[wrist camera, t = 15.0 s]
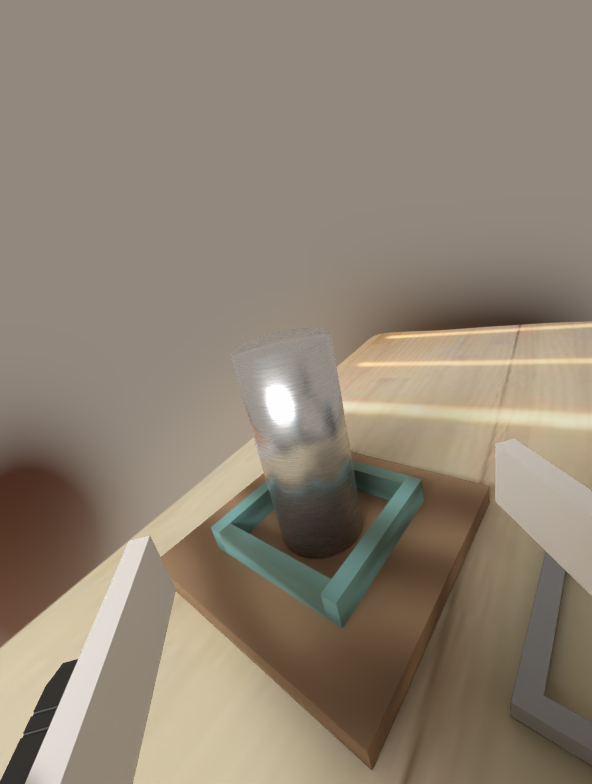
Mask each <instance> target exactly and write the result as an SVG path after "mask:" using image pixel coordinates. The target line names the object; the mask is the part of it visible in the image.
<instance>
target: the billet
mask: <svg viewBox="0 0 592 784" xmlns="http://www.w3.org/2000/svg"><path fill="white" fill-rule="evenodd" d="M231 358H232V361H233V365H234V369H235V372H236V375H237V379H238V382H239V386H240V390H241V393H242V397H243V400H244V403H245V407H246V411H247V414H248V418H249V421H250V425H251V428H252V432H253V436H254V439H255V443H256V446H257V450H258V453H259V457H260V460H261V464H262V467H263V471H264V475H265V478H266V482H267V485H268V489H269V492H270V496H271V499H272V503H273V506H274V510H275V513H276V517H277V520H278V524H279V528H280V531H281V535H282V538H283V541H284V543H285V545H286V546H287V547H288V548H289V549H290V550H291V551H292V552H294V553H295V554H297V555H299V556H302V557H306V558H313V559H320V558H327V557H331V556H335V555H337V554H340V553H342V552H343V551H345V550H347V549H348V548H349V547H351V546H352V545H353V544H354V543H355V542H356V540H357V539H358V537H359V536H360V533H361V531H362V524H363V523H362V516H361V510H360V504H359V498H358V492H357V486H356V480H355V474H354V468H353V462H352V457H351V451H350V445H349V439H348V433H347V427H346V421H345V415H344V409H343V403H342V397H341V391H340V386H339V380H338V374H337V368H336V362H335V356H334V350H333V345H332V338H331V333H330V331H328V330H326V329H320V328H307V329H296V330H290V331H284V332H279V333H275V334H271V335H267V336H264V337H260V338H258V339H254V340H252V341H249V342H247V343H245V344H242V345H241V346H239V347H237V348H236V349H234V350H233V351H232V352H231Z"/></svg>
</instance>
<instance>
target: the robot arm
mask: <svg viewBox="0 0 592 784" xmlns="http://www.w3.org/2000/svg"><path fill="white" fill-rule="evenodd" d="M495 502H496V503H497V504H498V505H499V506H500V507H501V508H502V509H503V510H504V511H505V512H506V513H507V514H508V515H509V516H510V517H511V518H512V519H513V520H514V521H515V522H516V523H518V524H519V525H520V526H521V527H522V528H523V529H524V530H525V531H526V532H527V533H528V534H529V535H530V536H531V537H532V538H533V539H534V540H535V541H536V542H537V543H538V544H539V545H540V546H541V547H542V548H543V549H544V550H545V551H546V552H547V553H548V554H549V555H550V556H551V557H552V558H553V559H554V560H555V561H556V562H557V563H558V564H559V565H560V566H561V567H562V568H563V569H564V570H565V571H567V572H568V573H569V574H570V575H571V576H572V577H573V578H574V579H575V580H576V581H577V582H578V583H579V584H580V585H581V586H582V587H583V588H584V589H585V590H586V591H587V592H588V593H589V594H590V595H591V596H592V490H590V489H589V488H587V487H586V486H584V485H583V484H581V483H580V482H578V481H577V480H575V479H574V478H572V477H571V476H569V475H568V474H566V473H565V472H563V471H562V470H560V469H559V468H557V467H556V466H554V465H553V464H551V463H550V462H548V461H547V460H545V459H544V458H543V457H541V456H540V455H538V454H537V453H535V452H534V451H532V450H531V449H529V448H528V447H526V446H525V445H523V444H522V443H520V442H519V441H517V440H516V439H511V440H508V441H504V442H500V443H496V444H495ZM175 591H176V588H175V586H174V584H173V582H172V579H171V577H170V575H169V573H168V571H167V569H166V567H165V565H164V563H163V561H162V559H161V557H160V555H159V553H158V551H157V549H156V547H155V545H154V543H153V541H152V539H151V537H150V536H146V537H142V538H139V539H135V540H131V541H129V542H128V544H127V547H126V549H125V551H124V554H123V556H122V558H121V561H120V563H119V565H118V568H117V570H116V572H115V575H114V577H113V579H112V582H111V584H110V586H109V589H108V591H107V593H106V596H105V598H104V600H103V603H102V605H101V607H100V610H99V612H98V614H97V617H96V619H95V621H94V624H93V626H92V628H91V631H90V633H89V635H88V638H87V640H86V642H85V645H84V647H83V649H82V652H81V654H80V656H79V659H76V660H73V661H69V662H66V663H63V664H62V665H61V667H60V668H59V669H58V671H57V672H56V673H55V675H54V676H53V677H52V679H51V680H50V681H49V683H48V684H47V685H46V687H45V689H44V691H43V693H42V695H41V697H40V699H39V701H38V703H37V705H36V707H35V710H34V715H33V716H32V717H31V718H30V720H29V722H28V724H27V726H26V728H25V731H24V736H23V738H21V739H20V741H19V743H18V745H17V747H16V749H15V751H14V754H13V756H12V758H11V760H10V762H9V764H8V766H7V768H6V770H5V772H4V774H3V777H2V779H1V781H0V784H133V780H134V776H135V771H136V767H137V762H138V758H139V753H140V749H141V744H142V740H143V735H144V731H145V726H146V722H147V717H148V713H149V708H150V704H151V699H152V695H153V690H154V686H155V681H156V677H157V672H158V668H159V663H160V659H161V654H162V650H163V645H164V641H165V636H166V632H167V627H168V623H169V618H170V614H171V609H172V605H173V600H174V596H175Z"/></svg>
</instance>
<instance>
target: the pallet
mask: <svg viewBox="0 0 592 784" xmlns="http://www.w3.org/2000/svg"><path fill="white" fill-rule="evenodd" d="M351 457H352V462H353V468H354V474H355V480H356V486H357V492H358V498H359V504H360V510H361V516H362V523H363V524H362V531H361V533H360V536H359V537H358V539H357V540H356V542H355V543H354V544H353V545H352V546H351V547H349V548H348V549H347V550H345V551H343V552H342V553H340V554H337V555H335V556H331V557H327V558H320V559H313V558H306V557H302V556H299V555H297V554H295V553H294V552H292V551H291V550H290V549H289V548H288V547H287V546H286V545H285V543H284V541H283V538H282V535H281V531H280V528H279V524H278V520H277V517H276V513H275V510H274V506H273V503H272V499H271V496H270V492H269V489H268V485H267V482H266V478H265V475H264V474H262V475H261V476H260V477H259V478H257V479H256V480H255V481H254V482H252V483H251V484H250V485H249V486H248V487H246V488H245V489H244V490H243V491H241V492H240V493H239V494H238V495H237V496H235V497H234V498H233V499H232V500H230V501H229V502H228V503H227V504H225V505H224V506H223V507H222V508H221V509H219V510H218V511H217V512H216V513H214V514H213V515H212V516H211V517H210V518H208V519H207V520H206V521H205V522H203V523H202V524H201V525H200V526H198V527H197V528H196V529H195V530H194V531H192V532H191V533H190V534H189V535H187V536H186V537H185V538H184V539H183V540H181V541H180V542H179V543H178V544H176V545H175V546H174V547H173V548H171V549H170V550H169V551H168V552H167V553H165V554H164V555H163V556H162V557H161V559H162V561H163V563H164V565H165V567H166V569H167V571H168V573H169V575H170V577H171V579H172V582H173V584H174V586H175V588H176V591H177V592H178V593H179V594H180V595H181V596H182V597H183V598H185V599H186V600H187V601H188V602H189V603H190V604H191V605H192V606H193V607H194V608H195V609H197V610H198V611H199V612H200V613H201V614H202V615H203V616H204V617H205V618H206V619H207V620H209V621H210V622H211V623H212V624H213V625H214V626H215V627H216V628H217V629H218V630H219V631H221V632H222V633H223V634H224V635H225V636H226V637H227V638H228V639H229V640H230V641H232V642H233V643H234V644H235V645H236V646H237V647H238V648H239V649H240V650H241V651H242V652H244V653H245V654H246V655H247V656H248V657H249V658H250V659H251V660H252V661H253V662H254V663H256V664H257V665H258V666H259V667H260V668H261V669H262V670H263V671H264V672H265V673H266V674H268V675H269V676H270V677H271V678H272V679H273V680H274V681H275V682H276V683H277V684H278V685H280V686H281V687H282V688H283V689H284V690H285V691H286V692H287V693H288V694H289V695H291V696H292V697H293V698H294V699H295V700H296V701H297V702H298V703H299V704H300V705H301V706H303V707H304V708H305V709H306V710H307V711H308V712H309V713H310V714H311V715H312V716H313V717H315V718H316V719H317V720H318V721H319V722H320V723H321V724H322V725H323V726H324V727H325V728H327V729H328V730H329V731H330V732H331V733H332V734H333V735H334V736H335V737H336V738H337V739H339V740H340V741H341V742H342V743H343V744H344V745H345V746H346V747H347V748H348V749H350V750H351V751H352V752H353V753H354V754H355V755H356V756H357V757H358V758H359V759H360V760H362V761H363V762H364V763H365V764H366V765H367V766H368V767H369V768H370V769H371V770H372V769H373V767H374V765H375V762H376V760H377V758H378V756H379V753H380V751H381V749H382V746H383V744H384V742H385V740H386V737H387V735H388V733H389V730H390V728H391V726H392V724H393V721H394V719H395V717H396V714H397V712H398V710H399V708H400V705H401V703H402V701H403V698H404V696H405V694H406V692H407V689H408V687H409V685H410V682H411V680H412V678H413V676H414V673H415V671H416V669H417V666H418V664H419V662H420V660H421V657H422V655H423V653H424V650H425V648H426V646H427V644H428V641H429V639H430V637H431V634H432V632H433V630H434V628H435V625H436V623H437V621H438V618H439V616H440V614H441V612H442V609H443V607H444V605H445V602H446V600H447V598H448V596H449V593H450V591H451V589H452V586H453V584H454V582H455V580H456V577H457V575H458V573H459V570H460V568H461V566H462V564H463V561H464V559H465V557H466V554H467V552H468V550H469V548H470V545H471V543H472V541H473V538H474V536H475V534H476V532H477V529H478V527H479V525H480V522H481V520H482V518H483V516H484V513H485V511H486V509H487V506H488V504H489V486H486V485H482V484H478V483H474V482H470V481H466V480H462V479H458V478H454V477H450V476H446V475H442V474H438V473H434V472H430V471H426V470H422V469H417V468H413V467H409V466H405V465H401V464H397V463H393V462H389V461H385V460H381V459H377V458H373V457H369V456H365V455H361V454H357V453H353V452H351Z"/></svg>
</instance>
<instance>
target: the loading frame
mask: <svg viewBox="0 0 592 784" xmlns="http://www.w3.org/2000/svg"><path fill="white" fill-rule="evenodd" d="M565 573H566V571H565V570H564V569H563V568H562V567H561V566H560V565H559V564H558V563H557V562H556V561H555V560H554V559H553V558H552V557H551V556H550V555H549V554H548V553H547V552H546V553H545V557H544V562H543V566H542V570H541V575H540V579H539V583H538V588H537V592H536V596H535V600H534V605H533V609H532V613H531V618H530V622H529V626H528V631H527V635H526V639H525V644H524V648H523V652H522V656H521V661H520V665H519V669H518V674H517V678H516V682H515V687H514V691H513V695H512V700H511V713H510V716H511V717H513V718H515V719H516V720H518V721H520V722H521V723H523V724H524V725H526V726H528V727H529V728H531V729H532V730H534V731H536V732H537V733H539V734H541V735H542V736H544V737H545V738H547V739H549V740H550V741H552V742H554V743H555V744H557V745H558V746H560V747H562V748H563V749H565V750H567V751H568V752H570V753H571V754H573V755H575V756H576V757H578V758H579V759H581V760H583V761H584V762H586V763H588V764H589V765H591V766H592V722H591V721H589V720H587V719H585V718H584V717H582V716H580V715H578V714H576V713H575V712H573V711H571V710H569V709H567V708H566V707H564V706H562V705H560V704H558V703H557V702H555V701H553V700H551V699H549V698H547V697H546V696H545V690H546V684H547V678H548V672H549V666H550V660H551V655H552V649H553V643H554V637H555V631H556V625H557V620H558V614H559V608H560V602H561V596H562V590H563V584H564V579H565Z"/></svg>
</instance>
